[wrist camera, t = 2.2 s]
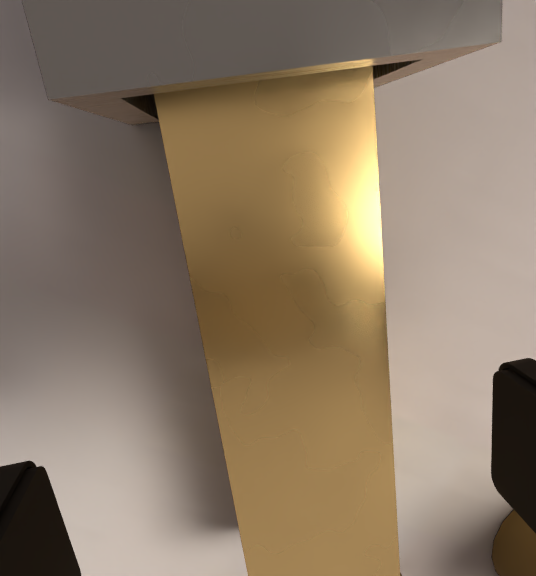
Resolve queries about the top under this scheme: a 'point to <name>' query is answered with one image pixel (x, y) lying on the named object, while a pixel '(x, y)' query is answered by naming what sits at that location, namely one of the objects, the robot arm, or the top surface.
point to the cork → (515, 548)
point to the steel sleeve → (238, 44)
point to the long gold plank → (292, 312)
